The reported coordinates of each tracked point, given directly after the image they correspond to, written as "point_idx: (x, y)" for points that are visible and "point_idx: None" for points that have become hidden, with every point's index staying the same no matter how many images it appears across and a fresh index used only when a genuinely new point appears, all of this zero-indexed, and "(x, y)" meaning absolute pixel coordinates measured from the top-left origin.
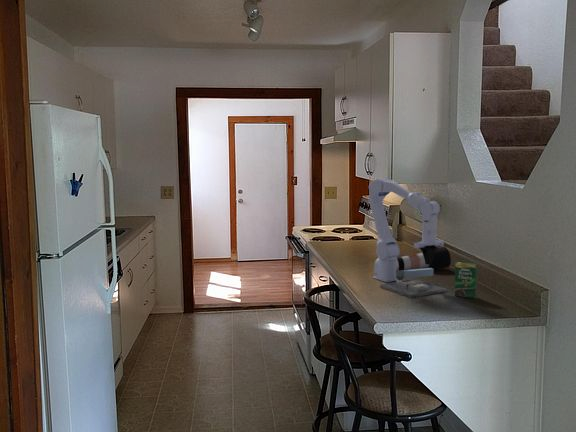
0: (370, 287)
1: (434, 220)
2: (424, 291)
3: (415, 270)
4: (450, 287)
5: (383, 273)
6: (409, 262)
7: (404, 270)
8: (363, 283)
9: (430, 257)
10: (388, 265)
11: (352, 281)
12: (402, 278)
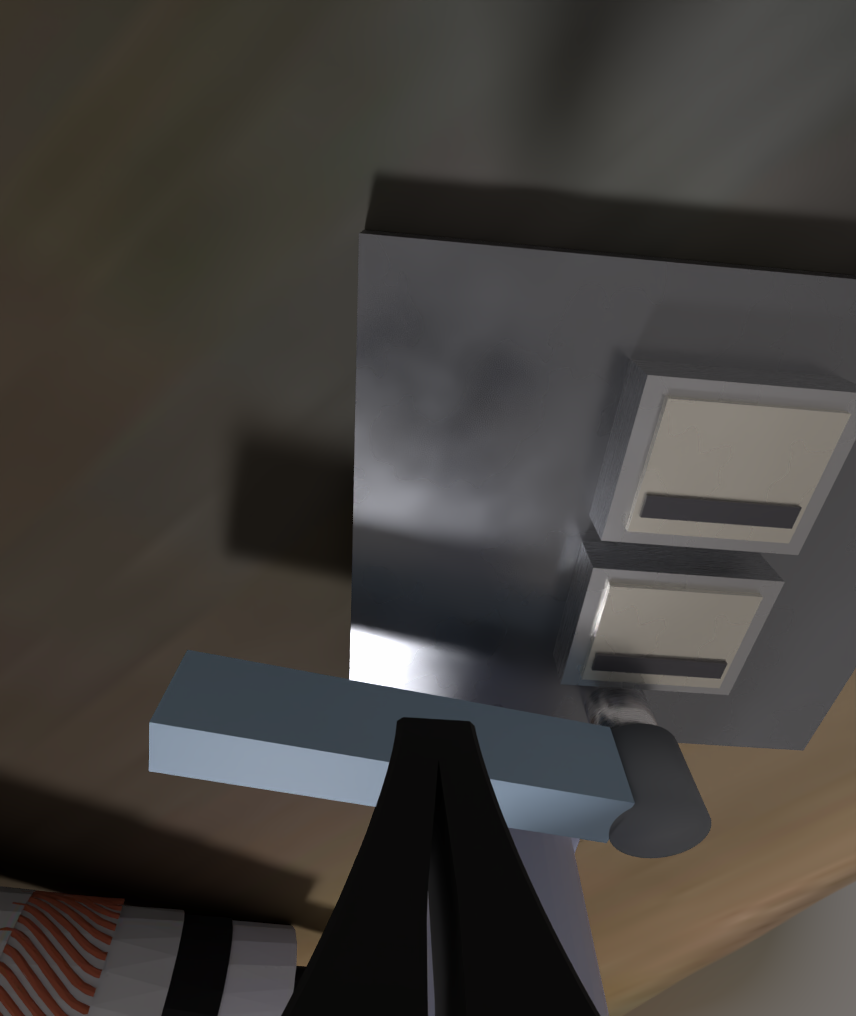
0: (844, 759)
1: None
2: (778, 311)
3: None
4: (150, 351)
5: (582, 893)
6: (114, 978)
7: (574, 828)
8: (755, 841)
9: (480, 888)
10: (583, 974)
11: (755, 894)
12: (639, 725)
